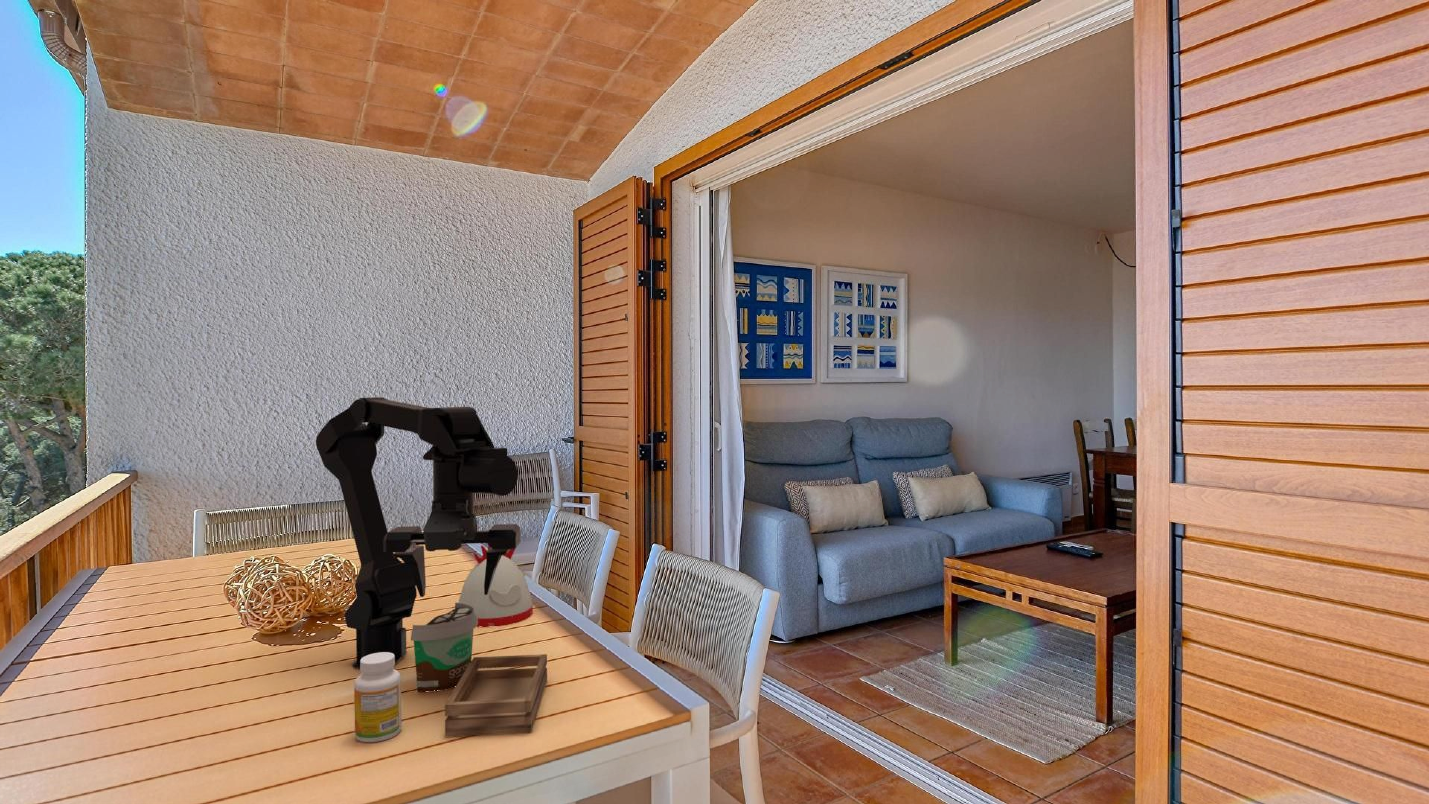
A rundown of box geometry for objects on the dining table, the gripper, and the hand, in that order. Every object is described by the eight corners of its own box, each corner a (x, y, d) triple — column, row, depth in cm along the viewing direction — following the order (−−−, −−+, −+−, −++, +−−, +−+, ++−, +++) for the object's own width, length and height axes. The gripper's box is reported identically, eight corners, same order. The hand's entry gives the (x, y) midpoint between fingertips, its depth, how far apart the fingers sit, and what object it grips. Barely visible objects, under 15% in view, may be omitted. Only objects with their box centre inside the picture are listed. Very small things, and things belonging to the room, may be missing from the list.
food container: (450, 699, 105) (449, 628, 104) (411, 696, 106) (410, 626, 106) (493, 667, 117) (493, 603, 116) (458, 664, 118) (457, 601, 118)
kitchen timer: (543, 618, 141) (542, 539, 141) (469, 632, 133) (468, 549, 133) (517, 601, 153) (517, 528, 152) (448, 613, 145) (447, 536, 145)
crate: (445, 736, 93) (444, 705, 93) (474, 684, 110) (473, 657, 110) (531, 732, 94) (530, 700, 94) (547, 680, 111) (546, 654, 111)
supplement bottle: (364, 724, 97) (363, 650, 97) (407, 722, 97) (406, 649, 97) (347, 744, 92) (346, 666, 91) (393, 742, 92) (392, 664, 92)
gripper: (369, 500, 102) (370, 614, 102) (509, 498, 104) (510, 609, 104) (394, 489, 113) (395, 591, 113) (520, 487, 115) (521, 587, 115)
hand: (454, 595), depth 111 cm, fingers open, 9 cm apart
